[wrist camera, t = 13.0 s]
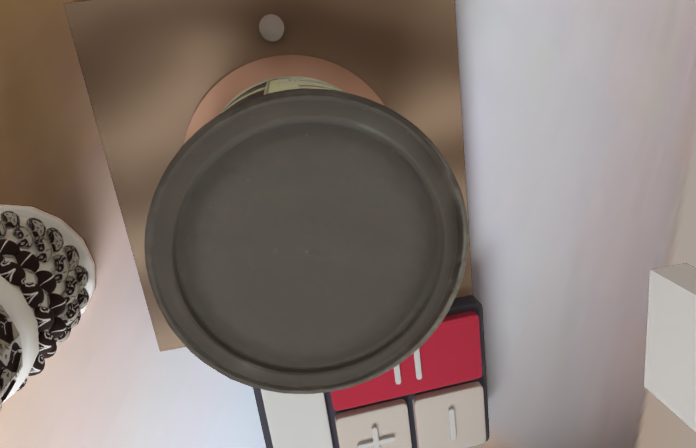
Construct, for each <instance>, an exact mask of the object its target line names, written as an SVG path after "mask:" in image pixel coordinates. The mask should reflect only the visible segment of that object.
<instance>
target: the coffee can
mask: <svg viewBox="0 0 696 448" xmlns="http://www.w3.org/2000/svg"><path fill="white" fill-rule="evenodd" d="M468 232H469V231H468V220H467V212H466V207H465V203H464V199H463V195H462V192H461V189H460V187H459V184H458V182H457V180H456V178H455V175H454V173H453V171H452V169H451V167H450V166H449V164H448V162H447V161H446V159H445V158H444V156H443V155H442V153H441V152H440V150H439V149H438V148H437V147H436V146H435V144H434V143H433V142H432V141H431V140H430V139H429V138H428V137H427V136H426V135H425V134H424V133H423V132H422V131H421V130H420V129H419V128H418V127H417V126H415V125H414V124H413V123H411V122H410V121H409V120H407V119H406V118H404V117H403V116H401V115H400V114H398V113H397V112H395V111H394V110H392V109H390V108H388V107H386V106H384V105H382V104H379V103H377V102H374V101H372V100H370V99H367V98H364V97H361V96H357V95H354V94H350V93H346V92H344V91H343V90H342V89H340V88H338V87H336V86H334V85H332V84H329V83H327V82H324V81H321V80H318V79H315V78H309V77H302V76H283V77H277V78H270V79H267V80H264V81H262V82H259V83H257V84H254V85H252V86H250V87H248V88H247V89H245V90H244V91H242V92H241V93H239V94H238V95H237V96H235V97H234V98H233V99H232V100H231V101H230V102H229V103H228V104H227V105H226V106H225V107H224V108H223V109H222V111H221V112H220V113H219V115H218V116H216V117H215V118H213V119H212V120H211V121H209V122H208V123H206V124H205V125H204V126H202V127H201V128H200V129H199V130H198V131H197V132H196V133H195V134H194V135H193V136H192V137H190V138H189V139H188V140H187V141H186V143H185V144H184V145H183V146H182V147H181V148H180V150H179V151H178V152H177V154H176V155H175V156H174V158H173V159H172V161H171V162H170V163H169V165H168V166H167V168H166V170H165V172H164V174H163V176H162V177H161V179H160V181H159V184H158V186H157V188H156V190H155V193H154V195H153V198H152V202H151V205H150V208H149V212H148V216H147V221H146V227H145V239H144V251H145V263H146V269H147V273H148V279H149V282H150V285H151V288H152V292H153V294H154V297H155V300H156V302H157V305H158V307H159V309H160V311H161V312H162V314H163V316H164V318H165V320H166V322H167V324H168V325H169V327H170V328H171V329H172V331H173V332H174V333H175V335H176V336H177V337H178V338H179V339H180V340H181V342H182V343H183V344H184V345H185V346H186V347H187V348H188V349H189V350H190V351H191V352H192V353H193V354H194V355H195V356H197V357H198V358H199V359H200V360H201V361H203V362H204V363H206V364H207V365H209V366H210V367H212V368H213V369H215V370H217V371H218V372H220V373H221V374H223V375H225V376H227V377H228V378H230V379H233V380H235V381H238V382H240V383H243V384H246V385H249V386H251V387H255V388H259V389H263V390H267V391H273V392H278V393H286V394H317V393H325V392H331V391H336V390H342V389H346V388H350V387H353V386H356V385H359V384H361V383H364V382H367V381H369V380H371V379H374V378H376V377H378V376H380V375H382V374H384V373H385V372H387V371H389V370H391V369H392V368H394V367H396V366H397V365H399V364H400V363H402V362H403V361H404V360H406V359H407V358H408V357H409V356H411V355H412V354H413V353H414V352H415V351H417V350H418V349H419V348H420V347H421V346H422V345H423V344H424V343H425V342H426V341H427V340H428V338H429V337H430V336H431V335H432V334H433V333H434V332H435V330H436V329H437V328H438V326H439V325H440V323H441V322H442V321H443V319H444V318H445V316H446V315H447V313H448V311H449V310H450V307H451V305H452V303H453V301H454V299H455V297H456V295H457V293H458V290H459V287H460V285H461V282H462V279H463V275H464V271H465V266H466V261H467V254H468V244H469V237H468Z"/></svg>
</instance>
